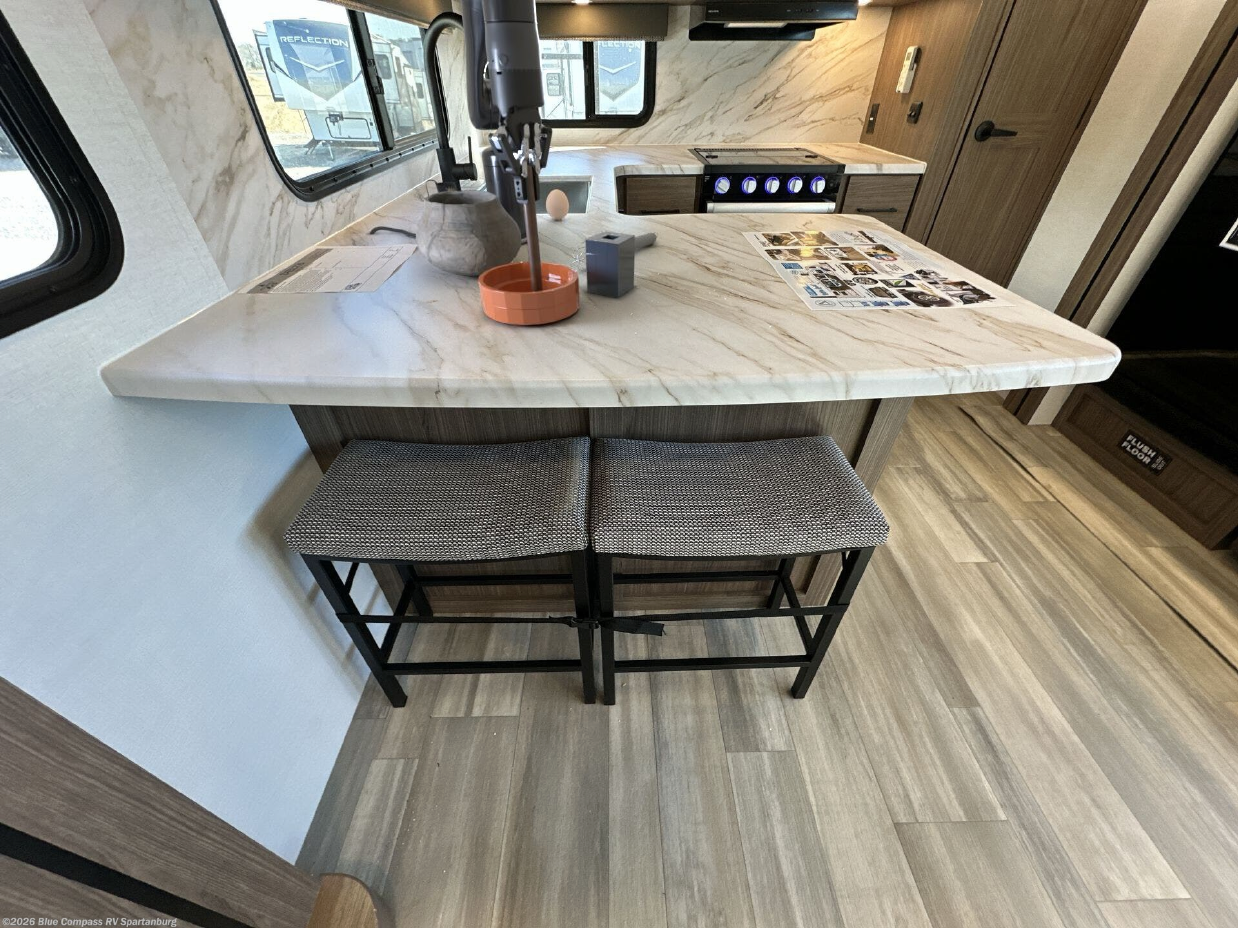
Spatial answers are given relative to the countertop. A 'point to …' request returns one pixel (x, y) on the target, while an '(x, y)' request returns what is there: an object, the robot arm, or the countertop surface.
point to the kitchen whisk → (639, 242)
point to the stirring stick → (533, 237)
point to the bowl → (529, 293)
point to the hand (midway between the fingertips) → (528, 201)
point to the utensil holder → (610, 263)
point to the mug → (443, 186)
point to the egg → (557, 204)
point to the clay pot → (467, 232)
